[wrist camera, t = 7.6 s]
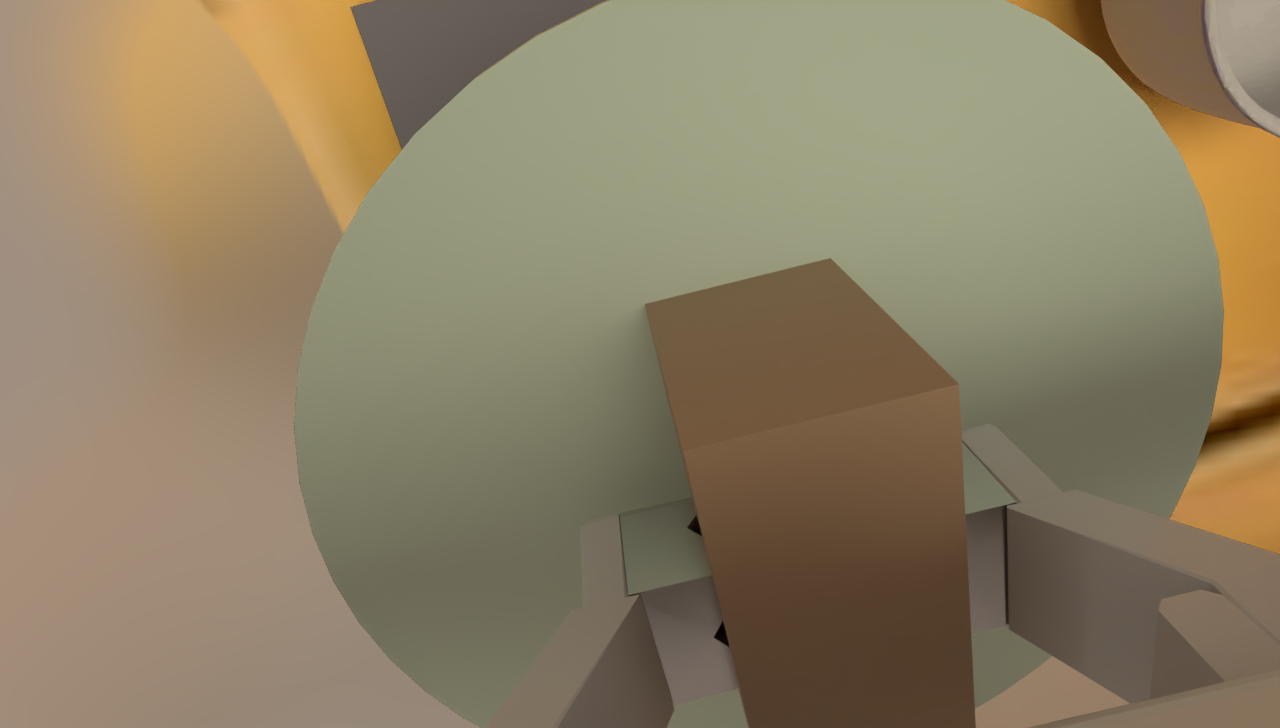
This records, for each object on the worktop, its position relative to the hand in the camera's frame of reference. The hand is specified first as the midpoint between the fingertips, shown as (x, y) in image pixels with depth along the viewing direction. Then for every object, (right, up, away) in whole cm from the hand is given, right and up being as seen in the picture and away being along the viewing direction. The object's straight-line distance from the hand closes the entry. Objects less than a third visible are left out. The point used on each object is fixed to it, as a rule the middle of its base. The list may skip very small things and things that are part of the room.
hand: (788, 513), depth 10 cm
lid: (0, +1, +2) cm, 2 cm away
